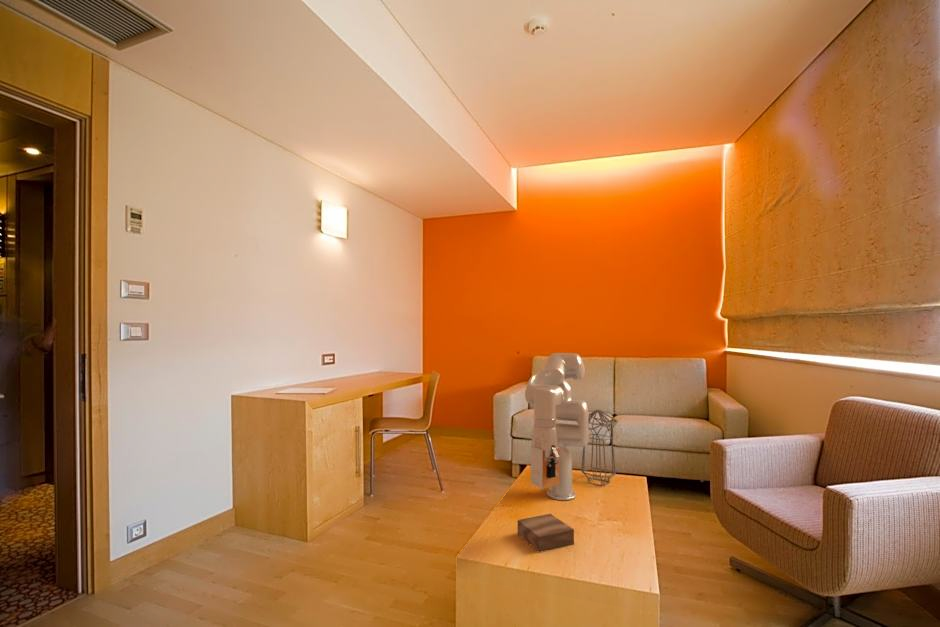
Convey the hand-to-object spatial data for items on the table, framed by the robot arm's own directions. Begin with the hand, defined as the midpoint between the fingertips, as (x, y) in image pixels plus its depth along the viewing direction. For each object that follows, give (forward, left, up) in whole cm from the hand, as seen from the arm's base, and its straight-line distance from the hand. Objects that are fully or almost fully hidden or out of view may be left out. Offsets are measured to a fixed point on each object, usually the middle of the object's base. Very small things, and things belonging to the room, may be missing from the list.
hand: (544, 473), depth 152 cm
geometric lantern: (-40, +58, -23) cm, 74 cm away
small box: (0, 0, -4) cm, 4 cm away
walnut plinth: (0, 0, -23) cm, 23 cm away
